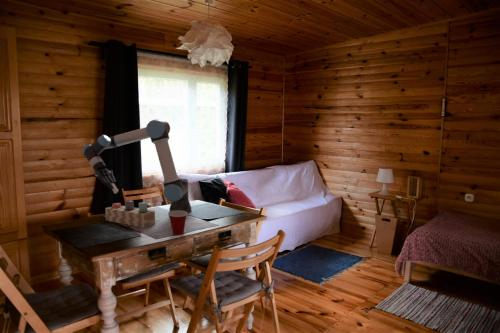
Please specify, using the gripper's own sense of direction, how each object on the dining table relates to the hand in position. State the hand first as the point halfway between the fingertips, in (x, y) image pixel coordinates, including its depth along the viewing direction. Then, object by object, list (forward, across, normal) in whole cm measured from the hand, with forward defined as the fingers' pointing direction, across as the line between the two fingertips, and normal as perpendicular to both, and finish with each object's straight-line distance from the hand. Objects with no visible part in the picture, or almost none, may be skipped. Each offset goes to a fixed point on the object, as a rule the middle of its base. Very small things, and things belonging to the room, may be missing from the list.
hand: (116, 192), depth 235 cm
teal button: (+23, -1, +9) cm, 25 cm away
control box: (+20, 0, -5) cm, 21 cm away
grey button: (+15, 0, +1) cm, 15 cm away
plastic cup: (+51, +3, +25) cm, 57 cm away
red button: (+8, 0, -10) cm, 13 cm away
